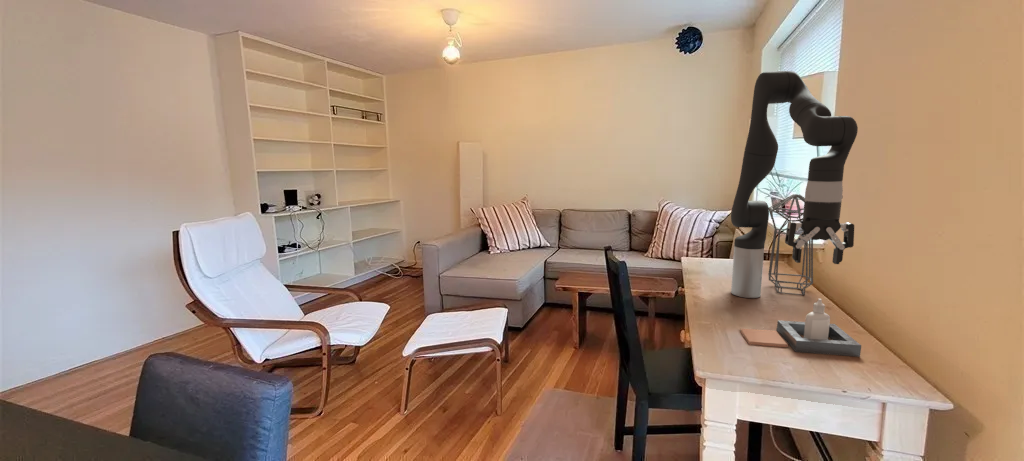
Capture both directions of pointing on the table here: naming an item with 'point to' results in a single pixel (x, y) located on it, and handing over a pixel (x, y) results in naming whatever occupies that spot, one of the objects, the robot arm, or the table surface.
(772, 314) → the table surface
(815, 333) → the eye dropper bottle
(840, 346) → the socket plate
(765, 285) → the table surface
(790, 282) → the geometric lantern
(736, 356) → the table surface
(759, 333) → the terracotta tile
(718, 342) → the table surface
